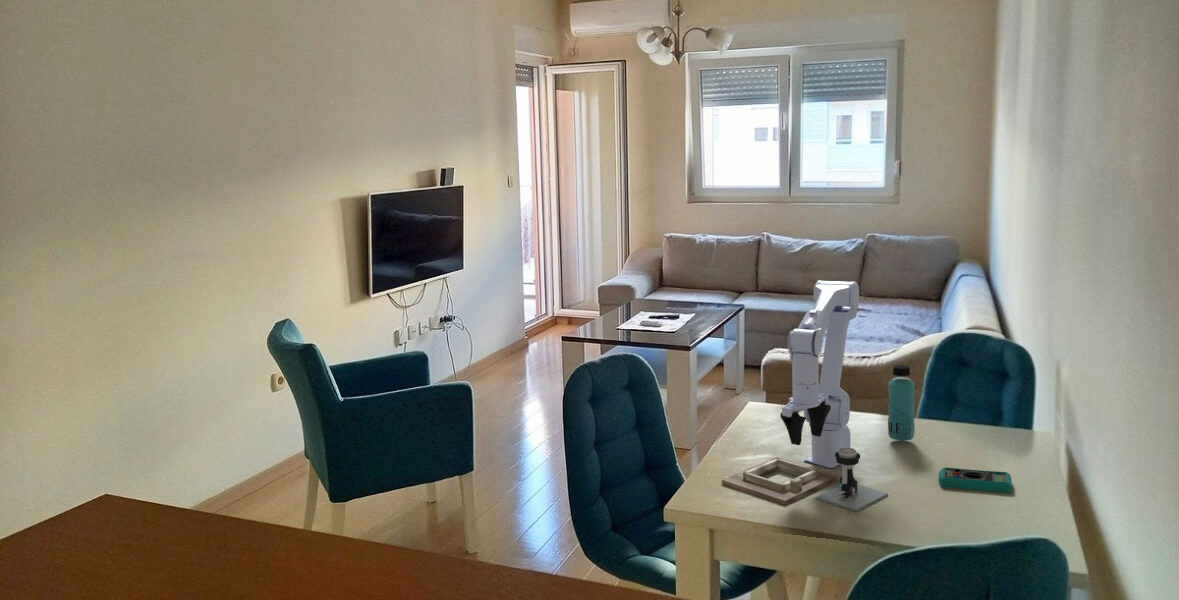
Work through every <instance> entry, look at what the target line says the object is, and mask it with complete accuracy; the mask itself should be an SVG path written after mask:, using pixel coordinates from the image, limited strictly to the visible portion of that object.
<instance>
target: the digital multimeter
mask: <svg viewBox="0 0 1179 600" xmlns="http://www.w3.org/2000/svg"><path fill="white" fill-rule="evenodd" d="M1012 481H1013V480H1012V476H1011V474H1010V473H1009V472H1007V471H995V470H994V471H992V470H978V469H967V468H966V469H965V468H955V467H942V468H941V469H940V470H939V471H938V484H939V486H940V488H944V489H945V488H946V489H958V490H972V491H983V492H994V493H1002V494H1003V493H1004V494H1010V493H1012Z"/></svg>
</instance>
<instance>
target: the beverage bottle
mask: <svg viewBox="0 0 1179 600" xmlns="http://www.w3.org/2000/svg"><path fill="white" fill-rule="evenodd" d="M910 369H911V368H910V366H909V365H907V364H896V365H893V367H892V375H893V376H896V377H893V378H892V379H891V380H889V381H888V395H887V398H888V399H887V400H888V402H887V403H888V404H887V406H888V413H887V414H888V415H887V416H888V417H887V429H888V437H889V438H890V439H892V440H894V441H904V442H905V441H911V440H913V439H914V438H915V435H916V433H915V431H916V429H915V428H916V427H915V425H916V423H915V421H916V420H915V418H916V415H915V381H913V380H912V379H910V377H909V376H910V375H911V370H910ZM908 377H909V378H908Z"/></svg>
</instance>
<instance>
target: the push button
mask: <svg viewBox="0 0 1179 600" xmlns="http://www.w3.org/2000/svg"><path fill="white" fill-rule="evenodd" d="M835 457H836V462H837V463H839V464H840V465H839V466H841V467H842V468H841V476H840V479H839V485H838V486H839V498H843V497H845V498H848V497H849V496H850V495H852V494H853V495H854V494H855V493H856V492H857V484H858V480H856V478H855V477H854V467H855V466H856V465H858V464H859V462H860V459H861V454H860V453H859V452H857V450H856V449H855V448H851V447H850V448H841V449H839V452H836V453H835Z"/></svg>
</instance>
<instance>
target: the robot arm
mask: <svg viewBox="0 0 1179 600" xmlns="http://www.w3.org/2000/svg"><path fill="white" fill-rule="evenodd" d="M813 300H814V303H815V304H814V306H813V309H810V310H808V311H807V312H806V313H805V314H804V317H803V318H802V320H801V322H800V323H799V325H798V326H797V328H794V329H792V330H790V331H789V334H788V337H787V351H788V353H789V360H790V361H789V362H791V368H792V369H791V370H792V371H791V373H792V375H791V378H792V397H789V398H788V400H789V402H788V403H787V404H786V405H784V406H781V412H780V419H781V420H782V422H783V423H784V425H785V427H786V429H787V433H788V436H789V439H790V440H789V441H790V444H792V445H795V446H801V444H802V436H803V434H802V433H803V429H804V423H805V422H807V423H809V425H808V426H809V427H810V433H811V455H810V456H808V457H806V458H804V462H807V463H811V464H815V465H818V466H821V467H825V468H828V469H833V468H835V467H837V466H841V465H840V464H839V463H837V462H836V457H835V453H836V452H839V449H841V448H851V431H850V428H849V426H848V423H849V420H850V415H851V408H850V407H851V406H850V405H851V404H850V403H851V398H850V396H849V394H848V393H847V392H846V391H845V390H844V389H843V388H842V387H841V386H840V385H841V380H842V379H841V378H842V372H843V371H842V370H843V365H844V358H845V350H846V349H845V348H846V340H847V334H848V329H849V324H850V321H851V320H853V319H855V318H856V317H857V313H858V312H859V311H858V310H859V303H860V287H859V284H858V282H857V281H855V280H854V281H837V280H836V281H835V280H821V279H819V280H817V282H815V284H814V287H813ZM825 333H826V336H825V341H824V335H825ZM823 343H825V344H824V348H823ZM822 348H823V349H824V350H823V357H822V363H821V372H819V370H820V369H819V366H820V365H819V355H820V354H821V352H822ZM819 373H820V375H819ZM819 376H820V377H819ZM819 378H820V379H819ZM800 412H803V416H801V415H800Z"/></svg>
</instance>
